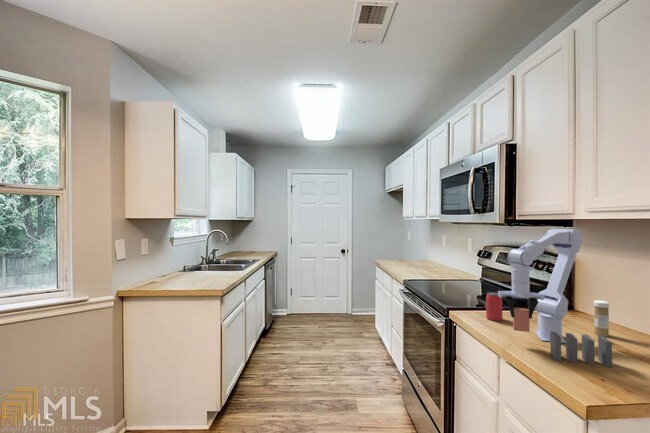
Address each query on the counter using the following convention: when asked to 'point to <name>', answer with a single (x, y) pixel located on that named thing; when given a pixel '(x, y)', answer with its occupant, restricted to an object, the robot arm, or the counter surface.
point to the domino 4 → (605, 351)
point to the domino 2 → (571, 348)
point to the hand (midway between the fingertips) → (520, 317)
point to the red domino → (521, 320)
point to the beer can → (493, 306)
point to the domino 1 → (555, 346)
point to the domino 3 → (588, 350)
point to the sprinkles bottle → (601, 318)
